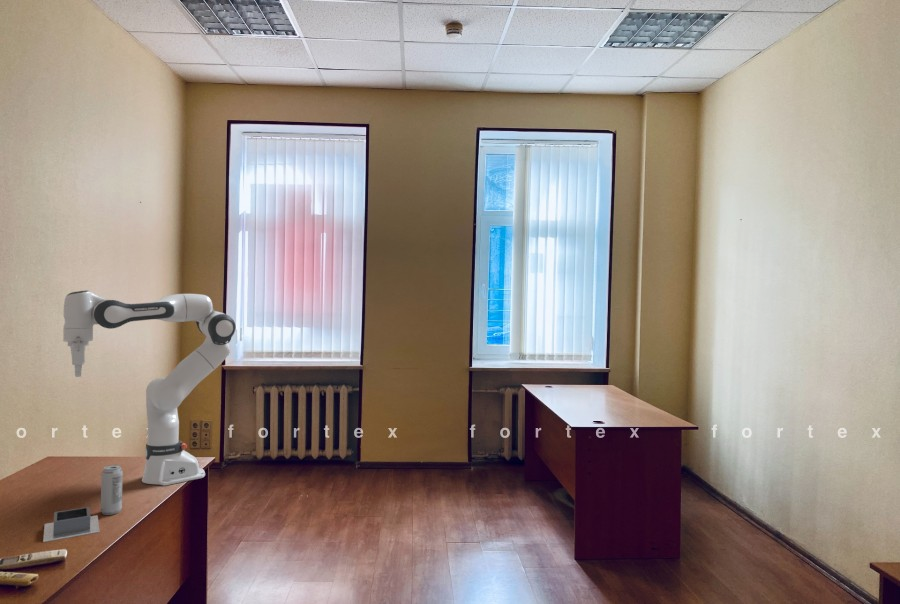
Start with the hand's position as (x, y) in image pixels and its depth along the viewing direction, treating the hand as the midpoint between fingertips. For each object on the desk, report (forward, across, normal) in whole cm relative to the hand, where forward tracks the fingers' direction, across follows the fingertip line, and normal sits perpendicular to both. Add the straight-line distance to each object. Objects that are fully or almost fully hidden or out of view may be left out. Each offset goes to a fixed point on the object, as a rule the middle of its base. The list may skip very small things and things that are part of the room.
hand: (78, 374), depth 203 cm
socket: (+44, -33, +2) cm, 55 cm away
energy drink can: (+44, -24, -9) cm, 50 cm away
